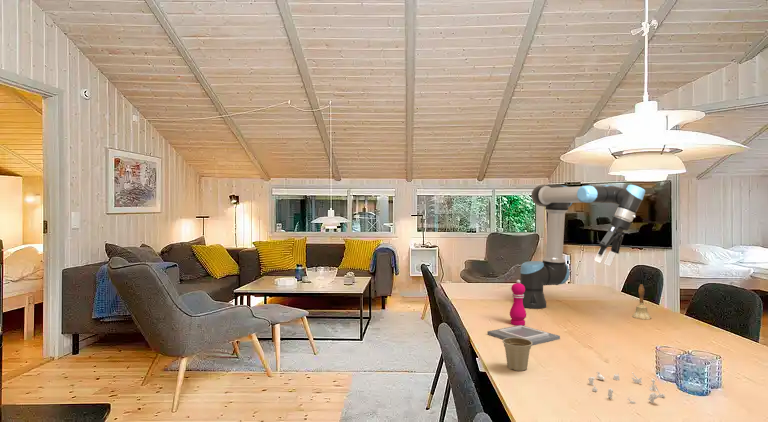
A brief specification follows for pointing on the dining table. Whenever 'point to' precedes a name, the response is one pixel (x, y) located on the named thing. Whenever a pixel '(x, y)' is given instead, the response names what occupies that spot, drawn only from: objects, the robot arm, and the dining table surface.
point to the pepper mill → (518, 304)
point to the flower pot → (517, 353)
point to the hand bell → (641, 306)
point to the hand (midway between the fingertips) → (602, 263)
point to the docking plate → (524, 334)
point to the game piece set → (616, 377)
